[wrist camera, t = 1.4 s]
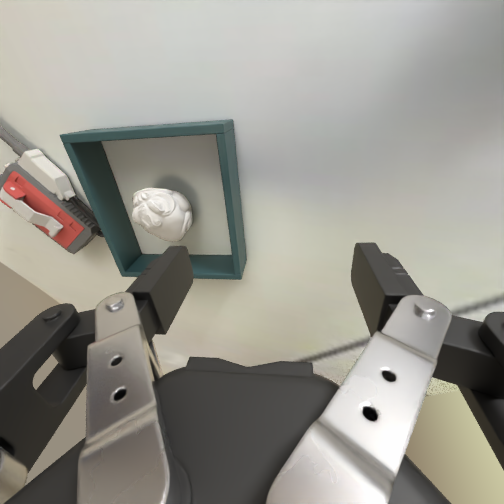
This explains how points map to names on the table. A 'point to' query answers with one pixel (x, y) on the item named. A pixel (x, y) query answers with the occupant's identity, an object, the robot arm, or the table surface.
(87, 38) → the table surface
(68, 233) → the walkie-talkie
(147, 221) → the white rounded figurine
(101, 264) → the table surface
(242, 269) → the open box
